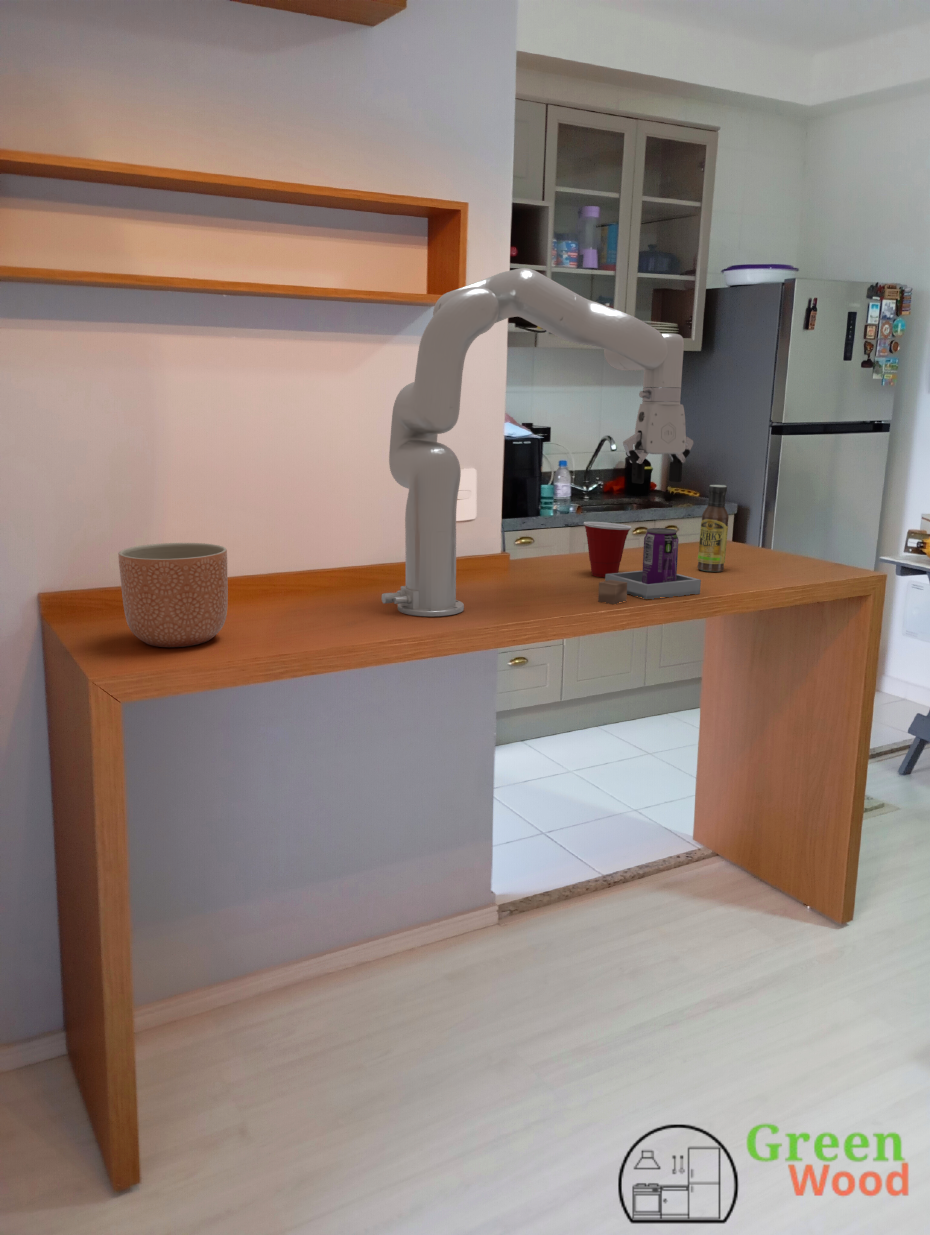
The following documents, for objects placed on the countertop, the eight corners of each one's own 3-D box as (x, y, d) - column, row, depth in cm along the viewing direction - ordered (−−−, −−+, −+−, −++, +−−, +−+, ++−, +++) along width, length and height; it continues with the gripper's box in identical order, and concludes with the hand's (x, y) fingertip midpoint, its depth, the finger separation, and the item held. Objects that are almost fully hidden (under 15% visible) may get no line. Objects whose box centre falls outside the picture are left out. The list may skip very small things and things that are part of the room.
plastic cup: (638, 578, 226) (641, 524, 223) (596, 581, 222) (598, 527, 219) (614, 569, 236) (616, 518, 233) (573, 572, 232) (575, 520, 229)
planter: (244, 645, 165) (240, 554, 161) (137, 659, 156) (131, 562, 153) (214, 624, 179) (209, 539, 175) (115, 635, 171) (108, 546, 167)
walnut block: (614, 605, 198) (615, 585, 197) (598, 602, 201) (598, 582, 200) (626, 602, 201) (627, 582, 200) (609, 599, 204) (610, 579, 203)
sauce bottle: (693, 571, 235) (698, 485, 231) (702, 567, 240) (708, 483, 236) (719, 574, 232) (725, 487, 227) (729, 570, 237) (734, 485, 232)
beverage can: (676, 590, 208) (679, 532, 205) (641, 588, 210) (643, 531, 207) (675, 583, 215) (679, 528, 212) (642, 582, 216) (644, 527, 214)
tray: (646, 600, 202) (647, 585, 202) (604, 587, 214) (605, 574, 214) (700, 593, 209) (700, 579, 208) (656, 582, 221) (657, 568, 220)
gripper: (638, 396, 195) (634, 485, 199) (707, 397, 204) (701, 482, 207) (615, 396, 202) (611, 482, 206) (682, 397, 210) (677, 479, 214)
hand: (656, 482), depth 206 cm, fingers open, 9 cm apart
